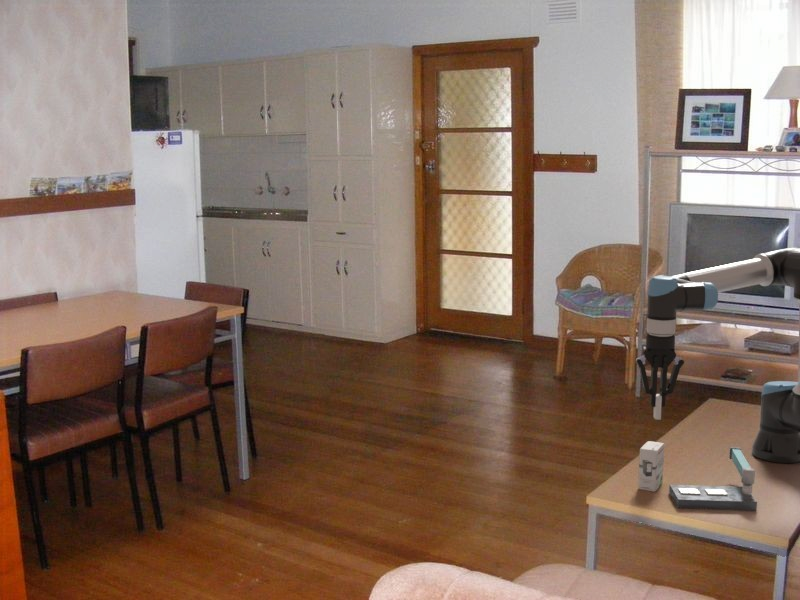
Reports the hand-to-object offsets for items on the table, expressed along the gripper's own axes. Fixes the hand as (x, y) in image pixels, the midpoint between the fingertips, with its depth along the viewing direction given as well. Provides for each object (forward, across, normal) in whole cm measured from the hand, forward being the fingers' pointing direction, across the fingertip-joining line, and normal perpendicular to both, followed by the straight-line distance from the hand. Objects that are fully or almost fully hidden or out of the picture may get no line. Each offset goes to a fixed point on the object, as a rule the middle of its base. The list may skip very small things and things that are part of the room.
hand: (657, 418), depth 259 cm
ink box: (+20, +1, -1) cm, 20 cm away
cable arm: (+14, -23, +1) cm, 27 cm away
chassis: (+20, -13, +10) cm, 26 cm away
